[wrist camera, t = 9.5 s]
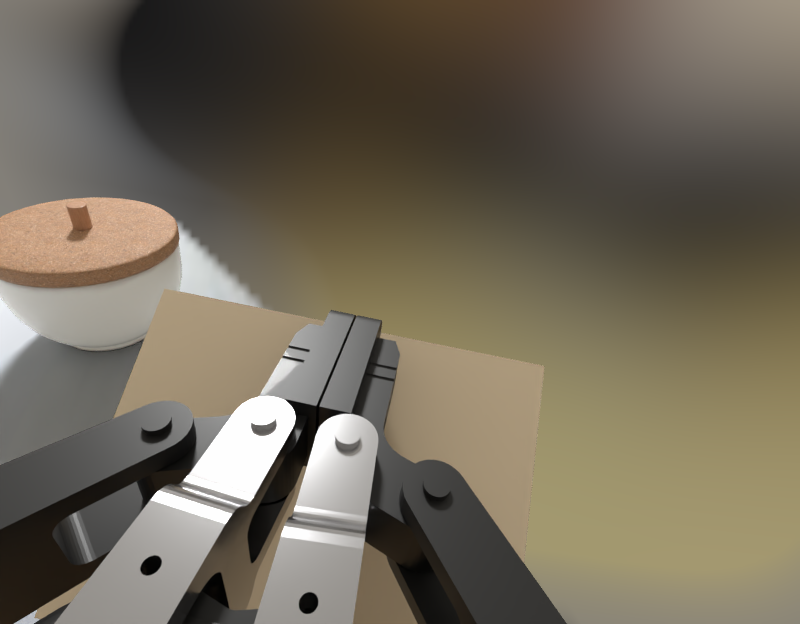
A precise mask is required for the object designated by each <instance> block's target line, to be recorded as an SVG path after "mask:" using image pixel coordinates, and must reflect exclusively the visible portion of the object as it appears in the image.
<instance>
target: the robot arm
mask: <svg viewBox="0 0 800 624" xmlns="http://www.w3.org/2000/svg"><path fill="white" fill-rule="evenodd" d="M381 327H382V320H377V319H373V318H368V317H362V316H357V317H356V315H353V314H348V313H343V312H338V311H333V310H331V311H330V312H329V314H328V316H327V318H326V320H325V322H324V324H323V326H320V325H315V324H310V323H309V324H308V325H307V326H305V327H304V328H302V329H301V330H299V331H298V332H297V333H296V334H295V336H294V337H293V339H292V341H291V342H290V344H289V347H288V348H287V349H286V351H285V353H284V354H283V357H282V358H281V360H280V361H279V363H278V365H277V366H276V368H275V370H274V371H273V373H272V375H271V377H270V378H269V380H268V382H267V383H266V385H265V387H264V389H263V390H262V392H261V394H260V395H259V397H258V398H255V399H252V400H249V401H247V402H246V403H244V404H242V405H241V406H240V407H239V408H238V409H237V410H236V411H235V412H234V414H231V415H227V416H217V417H199V418H193V414H192V412H191V410H190V409H189V408H188V407H187V406H186V405H184V404H182V403H180V402H176V401H158V402H154V403H150V404H148V405H145V406H142V407H140V408H138V409H135V410H133V411H130V412H128V413H126V414H123V415H121V416H118V417H116V418H113V419H111V420H109V421H106V422H104V423H101V424H99V425H97V426H94V427H92V428H89V429H87V430H84V431H82V432H80V433H77V434H75V435H72V436H70V437H68V438H65V439H63V440H60V441H58V442H55V443H53V444H51V445H48V446H46V447H43V448H41V449H39V450H36V451H34V452H31V453H29V454H26V455H24V456H22V457H19V458H17V459H14V460H12V461H10V462H7V463H5V464H2V465H0V624H14V623H15V622H17V621H19V620H20V619H22V618H24V617H25V616H27V615H29V614H30V613H32V612H34V611H35V610H37V609H39V608H40V607H42V606H44V605H45V604H47V603H49V602H50V601H52V600H54V599H55V598H57V597H59V596H60V595H62V594H64V593H65V592H67V591H69V590H70V589H72V588H74V587H75V586H77V585H79V584H80V583H82V582H84V581H85V580H87V579H89V580H88V581H87V582H86V583H85V585H84V586H83V587H82V589H81V590H80V591H79V592H78V594H77V595H76V596H75V598H74V599H73V600H72V601H71V602H70V603H68V604H66V605H64V606H62V607H60V608H58V609H57V610H55V611H53V612H52V613H50V614H48V615H47V616H45V617H44V618H42V619H41V620H39V621H37V622H36V623H34V624H353V618H354V611H355V604H356V597H357V590H358V583H359V576H360V569H361V562H362V555H363V548H364V541H365V542H366V543H368V544H369V545H371V546H372V547H374V548H375V549H377V550H378V551H380V552H382V553H383V554H385V555H386V556H387V560H388V563H389V566H390V568H391V570H392V572H393V574H394V576H395V578H396V580H397V582H398V584H399V586H400V588H401V590H402V592H403V595H404V597H405V599H406V601H407V603H408V605H409V607H410V609H411V611H412V613H413V615H414V617H415V619H416V621H417V623H418V624H567V623H566V622H565V621H564V619H563V618H562V616H561V615H560V614H559V612H558V611H557V609H556V608H555V607H554V605H553V604H552V602H551V601H550V599H549V598H548V597H547V595H546V594H545V592H544V591H543V590H542V588H541V587H540V585H539V584H538V583H537V581H536V580H535V578H534V577H533V575H532V574H531V573H530V571H529V570H528V568H527V567H526V566H525V564H524V563H523V561H522V560H521V558H520V557H519V556H518V554H517V553H516V551H515V550H514V549H513V547H512V546H511V544H510V543H509V542H508V540H507V539H506V537H505V536H504V534H503V533H502V532H501V530H500V529H499V527H498V526H497V525H496V523H495V522H494V520H493V519H492V517H491V516H490V515H489V513H488V512H487V510H486V509H485V508H484V506H483V505H482V503H481V502H480V501H479V499H478V498H477V496H476V495H475V493H474V492H473V491H472V489H471V488H470V486H469V485H468V484H467V482H466V481H465V479H464V478H463V477H462V475H461V474H460V473H459V472H458V471H457V470H456V469H455V468H454V467H452V466H451V465H449V464H447V463H445V462H442V461H439V460H423V461H419V462H417V463H413V462H411V461H410V460H408V459H406V458H404V457H403V456H401V455H400V454H398V453H397V452H396V451H394V450H393V449H392V447H391V446H390V445H389V444H388V442H387V440H386V438H385V435H384V429H385V425H386V421H387V416H388V412H389V408H390V403H391V399H392V395H393V390H394V385H395V379H396V374H397V369H398V363H399V358H400V353H399V350H398V347H397V344H396V341H392V340H387V339H383V338H380V334H381ZM303 466H306V467H307V468H306V472H305V475H304V478H303V482H302V485H301V489H300V492H299V495H298V499H297V502H296V506H295V509H294V512H293V514H292V516H291V517H288V519H287V521H286V523H285V525H284V528H283V531H282V534H281V537H280V540H279V544H278V547H277V550H276V553H275V557H274V560H273V563H272V567H271V570H270V573H269V576H268V580H267V583H266V586H265V589H264V593H263V596H262V599H261V602H260V606H259V609H250V610H246V608H247V606H248V603H249V601H250V598H251V595H252V591H253V588H254V583H255V579H256V575H257V572H258V570H259V567H260V565H261V563H262V561H263V559H264V557H265V555H266V552H267V550H268V548H269V546H270V544H271V542H272V540H273V538H274V536H275V534H276V532H277V529H278V527H279V525H280V523H281V521H282V519H283V517H284V515H285V513H286V511H287V509H288V507H289V504H290V502H291V500H292V498H293V496H294V493H295V489H296V483H297V480H298V478H299V475H300V473H301V470H302V468H303Z"/></svg>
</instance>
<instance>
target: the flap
mask: <svg viewBox="0 0 800 624" xmlns="http://www.w3.org/2000/svg"><path fill="white" fill-rule="evenodd" d="M324 322H325V321H321V320H316V319H311V318H306V317H302V316H297V315H292V314H286V313H282V312H276V311H272V310H267V309H262V308H258V307H253V306H248V305H243V304H238V303H233V302H228V301H223V300H218V299H213V298H209V297H204V296H199V295H194V294H189V293H184V292H179V291H174V290H169V289H164V291H163V293H162V296H161V299H160V301H159V304H158V306H157V309H156V311H155V314H154V316H153V319H152V321H151V324H150V326H149V329H148V331H147V334H146V336H145V339H144V342H143V344H142V347H141V349H140V352H139V354H138V357H137V359H136V362H135V364H134V367H133V369H132V372H131V374H130V377H129V379H128V382H127V384H126V387H125V390H124V392H123V395H122V397H121V400H120V402H119V405H118V407H117V410H116V412H115V415H114V417H113V418H116V417H118V416H121V415H123V414H126V413H128V412H130V411H133V410H135V409H138V408H140V407H142V406H145V405H148V404H150V403H154V402H158V401H176V402H180V403H182V404H184V405H186V406H187V407H188V408H189V409H190V410H191V412H192V414H193V418H199V417H217V416H227V415H231V414H234V412H235V411H236V410H237V409H238V408H239V407H240V406H241V405H242V404H244V403H246V402H247V401H249V400H252V399H255V398H258V397H259V395H260V394H261V392H262V390H263V389H264V387H265V385H266V383H267V382H268V380H269V378H270V377H271V375H272V373H273V371H274V370H275V368H276V366H277V365H278V363H279V361H280V360H281V358H282V357H283V354H284V353H285V351H286V349H287V348H288V347H289V344H290V342H291V341H292V339H293V337H294V336H295V334H296V333H297V332H298V331H299V330H301V329H302V328H304V327H305V326H307V325H308V324H309V323H310V324H315V325H320V326H323V324H324ZM380 338H383V339H387V340H392V341H396V344H397V347H398V350H399V353H400V358H399V363H398V369H397V374H396V379H395V385H394V390H393V395H392V399H391V403H390V408H389V412H388V416H387V421H386V425H385V429H384V435H385V438H386V440H387V442H388V444H389V445H390V446H391V447H392V449H393V450H394V451H396V452H397V453H398V454H400V455H401V456H403V457H404V458H406V459H408V460H410V461H411V462H413V463H417V462H419V461H423V460H439V461H442V462H445V463H447V464H449V465H451V466H452V467H454V468H455V469H456V470H457V471H458V472H459V473H460V474H461V475H462V477H463V478H464V479H465V481H466V482H467V484H468V485H469V486H470V488H471V489H472V491H473V492H474V493H475V495H476V496H477V498H478V499H479V501H480V502H481V503H482V505H483V506H484V508H485V509H486V510H487V512H488V513H489V515H490V516H491V517H492V519H493V520H494V522H495V523H496V525H497V526H498V527H499V529H500V530H501V532H502V533H503V534H504V536H505V537H506V539H507V540H508V542H509V543H510V544H511V546H512V547H513V549H514V550H515V551H516V553H517V554H518V556H519V557H520V558H521V560H522V561H523V563H524V559H525V549H526V540H527V529H528V520H529V511H530V501H531V491H532V481H533V472H534V462H535V452H536V442H537V433H538V422H539V413H540V403H541V394H542V383H543V374H544V366H542V365H536V364H532V363H526V362H522V361H517V360H512V359H507V358H502V357H497V356H493V355H488V354H483V353H478V352H473V351H468V350H463V349H458V348H453V347H448V346H444V345H438V344H434V343H429V342H424V341H419V340H414V339H409V338H404V337H399V336H395V335H390V334H385V333H381V334H380ZM306 468H307V467H306V466H303V468H302V470H301V473H300V475H299V478H298V480H297V483H296V489H295V493H294V496H293V498H292V500H291V502H290V504H289V507H288V509H287V511H286V513H285V515H284V517H283V519H282V521H281V523H280V525H279V527H278V529H277V532H276V534H275V536H274V538H273V540H272V542H271V544H270V546H269V548H268V550H267V552H266V555H265V557H264V559H263V561H262V563H261V565H260V567H259V570H258V572H257V575H256V579H255V583H254V588H253V591H252V595H251V598H250V601H249V603H248V606H247V608H246V610H250V609H259V606H260V602H261V599H262V596H263V593H264V589H265V586H266V583H267V580H268V576H269V573H270V570H271V567H272V563H273V560H274V557H275V553H276V550H277V547H278V544H279V540H280V537H281V534H282V531H283V528H284V525H285V523H286V521H287V519H288V517H291V516H292V514H293V512H294V509H295V506H296V502H297V499H298V495H299V492H300V489H301V485H302V482H303V478H304V475H305V472H306ZM88 580H89V579H87V580H85V581H84V582H82V583H80V584H79V585H77V586H75V587H74V588H72V589H70V590H69V591H67V592H65V593H64V594H62V595H60V596H59V597H57V598H55V599H54V600H52V601H50V602H49V603H47V604H45V605H44V606H42V607H40V608H39V609H38V610H37V612H36V615H35V617H34V618H38V619H42V618H44V617H45V616H47V615H48V614H50V613H52V612H53V611H55V610H57V609H58V608H60V607H62V606H64V605H66V604H68V603H70V602H71V601H72V600H73V599H74V598H75V596H76V595H77V594H78V592H79V591H80V590H81V589H82V587H83V586H84V585H85V583H86V582H87V581H88ZM353 624H418V623H417V621H416V619H415V617H414V615H413V613H412V611H411V609H410V607H409V605H408V603H407V601H406V599H405V597H404V595H403V592H402V590H401V588H400V586H399V584H398V582H397V580H396V578H395V576H394V574H393V572H392V570H391V568H390V566H389V563H388V560H387V556H386V555H385V554H383V553H382V552H380V551H378V550H377V549H375V548H374V547H372V546H371V545H369V544H368V543H366V542H365V541H364V548H363V555H362V562H361V569H360V576H359V583H358V590H357V597H356V604H355V611H354V618H353Z"/></svg>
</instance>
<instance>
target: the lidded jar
mask: <svg viewBox="0 0 800 624" xmlns="http://www.w3.org/2000/svg"><path fill="white" fill-rule="evenodd" d="M181 278H182V264H181V255H180V248H179V232H178V226H177V223H176V221H175V219H174V218H173V217H172V216H171V215H170V214H169V213H167V212H166V211H164V210H163V209H161V208H158V207H156V206H153V205H150V204H147V203H143V202H139V201H134V200H127V199H118V198H77V199H66V200H59V201H53V202H47V203H42V204H38V205H34V206H30V207H26V208H23V209H19V210H16V211H13V212H11V213H8V214H6V215H4V216H2V217H0V297H1V299H2V300H3V301H4V303H5V304H6V306H7V307H8V308H9V309H10V310H11V311H12V313H13V314H14V315H15V316H16V317H17V318H18V319H19V320H20V321H21V322H22V323H24V324H25V325H26V326H28V327H29V328H30V329H32V330H33V331H35V332H36V333H38V334H40V335H42V336H44V337H46V338H48V339H51V340H53V341H56V342H59V343H63V344H67V345H71V346H73V347H75V348H78V349H81V350H86V351H110V350H116V349H120V348H124V347H127V346H130V345H133V344H135V343H138V342H140V341H141V340H143V339H145V336H146V334H147V331H148V329H149V326H150V324H151V321H152V319H153V316H154V314H155V311H156V309H157V306H158V304H159V301H160V299H161V296H162V293H163V291H164V289H169V290H174V291H180V286H181Z"/></svg>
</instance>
